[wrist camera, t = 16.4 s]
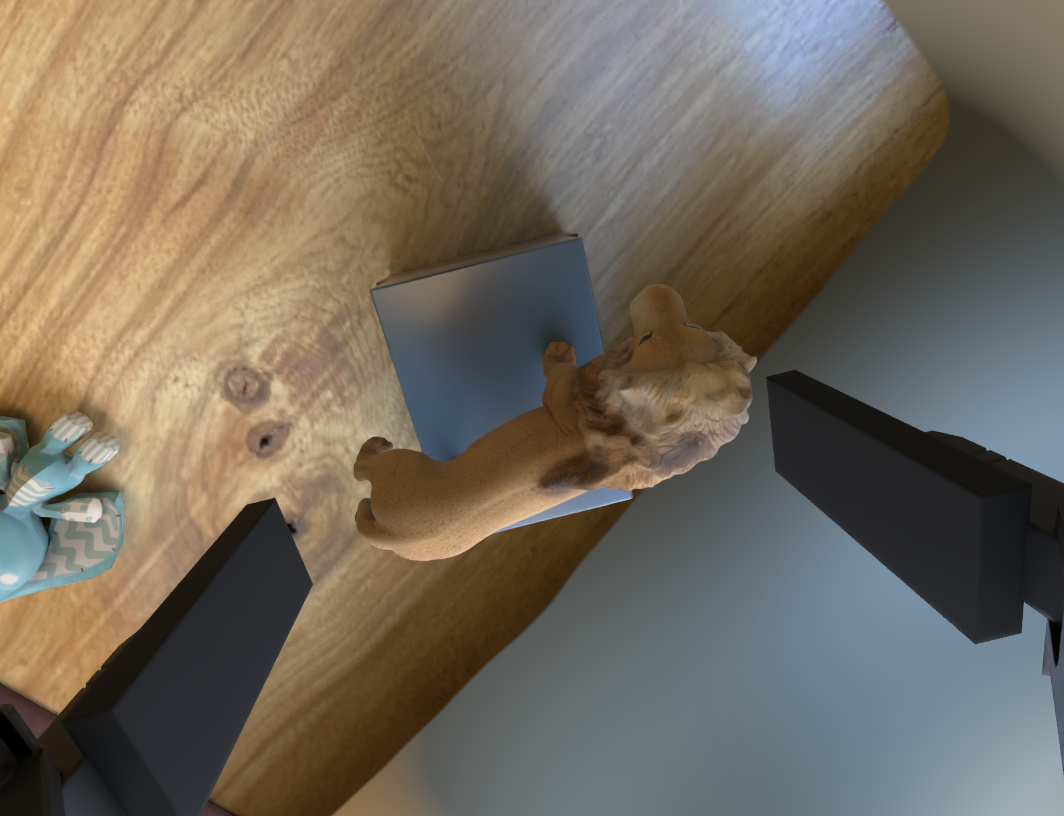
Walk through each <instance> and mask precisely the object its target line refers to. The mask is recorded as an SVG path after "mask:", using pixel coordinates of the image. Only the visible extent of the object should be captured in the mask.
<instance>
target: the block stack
mask: <svg viewBox="0 0 1064 816" xmlns="http://www.w3.org/2000/svg"><path fill="white" fill-rule="evenodd" d="M376 284H377V286H376V287H374V288H372V289H371V290H370V294H371V297H372V300H373V303H374V306H375V309H376V312H377V315H378V318H379V321H380V324H381V327H382V330H383V333H384V337H385V340H386V343H387V346H388V349H389V352H390V355H391V358H392V361H393V364H394V367H395V370H396V373H397V377H398V380H399V383H400V386H401V389H402V392H403V395H404V398H405V401H406V404H407V407H408V410H409V413H410V416H411V420H412V423H413V426H414V429H415V432H416V435H417V438H418V441H419V444H420V447H421V450H422V453H423V454H425V455H427V456H429V457H431V458H432V459H435V460H437V461H442V462H445V461H450V460H452V459H454V458H456V457H457V456H459V455H460V454H461V453H462V452H463V451H464V450H466V449H467V448H468V447H469V446H470V445H471V444H472V443H474V442H475V441H476V440H478V439H479V438H481V437H482V436H484V435H485V434H487V433H488V432H490V431H492V430H493V429H495V428H497V427H499V426H501V425H503V424H505V423H507V422H508V421H510V420H512V419H514V418H515V417H517V416H519V415H521V414H523V413H525V412H528V411H530V410H533V409H536V408H539V407H542V406H543V403H542V401H541V397H542V394H543V392H544V389H545V385H546V380H545V379H544V377H543V369H542V361H543V358H544V354H545V352H546V349H547V347H548V346H549V344H550V343H551V342H565V343H567V344H568V345H569V346H572V347H573V348H574V355H575V357H576V362H575V366H577V367H579V368H580V367H581V366H583V365H585V364H586V363H588V362H589V361H591V360H593V359H594V358H596V357H598V356H600V355H602V354H605V353H604V348H603V343H602V338H601V333H600V328H599V323H598V318H597V313H596V307H595V302H594V297H593V292H592V287H591V282H590V277H589V272H588V267H587V262H586V257H585V251H584V246H583V241H582V238H580V237H578V233H568V232H562V233H558V234H554V235H549V236H545V237H541V238H537V239H533V240H529V241H525V242H521V243H517V244H513V245H509V246H505V247H501V248H497V249H493V250H489V251H485V252H481V253H477V254H473V255H469V256H465V257H461V258H457V259H453V260H449V261H445V262H441V263H437V264H433V265H429V266H425V267H421V268H417V269H412V270H408V271H404V272H400V273H396V274H393V275H391V276H389V277H387V278H385V279H383V280H381V281H379V282H377V283H376ZM631 498H632V491H628V492H623V491H621V490H619V489H618V488H617V489H615V490H610V489H608V488H605V487H603V488H598V489H596V490H594V491H587V492H585V493H583V494H581V495H578V496H576V497H573V498H571V499H569V500H567V501H565V502H563V503H560V504H558V505H556V506H554V507H551V508H549V509H547V510H545V511H542V512H540V513H537V514H535V515H533V516H530V517H528V518H525V519H523V520H521V521H518V522H516V523H514V524H511V525H509V526H506V527H504V528H502V529H500V530H498V531H495V532H494V533H496V532H500V531H504V530H508V529H512V528H516V527H520V526H524V525H528V524H532V523H536V522H540V521H544V520H548V519H552V518H556V517H560V516H564V515H568V514H572V513H576V512H580V511H584V510H588V509H592V508H596V507H600V506H604V505H608V504H612V503H616V502H620V501H624V500H628V499H631Z"/></svg>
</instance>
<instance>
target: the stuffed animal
mask: <svg viewBox="0 0 1064 816" xmlns="http://www.w3.org/2000/svg"><path fill="white" fill-rule="evenodd" d="M93 425H94V424H93V423H92V422H91V421H90V419H89V418H88V417H87V416H86V415H84V414H82V413H80V412H77V411H65V412H64V413H62V414H61V415H60V416H59V417H58V418H57V419H56V420H55V421H54V422H53V423H52V424H51V425H50V426H49V428H48V429H47V431H46V433H45V435H44V437H43V439H42V441H41V442H40V443H39V444H37V445H35V446H33V447H32V448H31V449H29V444H28V439H27V434H26V428H25V420H22V419H17V418H13V417H7V416H0V489H1V490H3V491H4V492H5V494H0V603H2V602H4V601H6V600H8V599H11V598H15V597H19V596H22V595H26V594H30V593H34V592H38V591H42V590H46V589H50V588H53V587H57V586H61V585H65V584H70V583H74V582H78V581H83V580H87V579H90V578H92V577H94V576H96V575H98V574H100V573H102V572H104V571H106V570H108V569H110V568H111V567H112V565H113V563H114V561H115V559H116V556H117V554H118V552H119V550H120V548H121V545H122V543H123V531H124V500H123V497H122V495H121V492H120V491H116V492H104V493H77V494H76V495H74V496H73V497H71V498H70V499H68V500H65V501H62V502H57V503H50V499H51V498H53V497H56V496H60V495H62V494H64V493H65V492H67V491H69V490H71V489H73V488H74V487H76V486H77V485H78V484H80V483H81V482H82V480H83V479H84V478H85V475H86V474H87V473H89V472H91V471H94V470H96V469H98V468H100V467H102V466H103V465H104V464H105V463H107V462H108V461H109V460H110V459H111V458H112V457H113V456H114V455H115V454H116V453H117V452H118V451H119V449H120V444H119V443H118V442H117V440H116V439H115V438H114V437H113V436H111V435H109V434H107V433H105V432H94V433H93V434H92V435H91V436H90V437H89V438H88V439H87V440H86V441H85V442H84V443H83V444H82V445H81V446H80V448H79V449H78V450H77V451H76V452H75V454H74V456H73V455H72V454H69V453H67V452H65V451H63V450H64V449H66V448H67V447H69V446H71V445H72V444H74V443H75V442H77V441H78V440H80V439H81V438H83V437H84V436H85V435H86V434H87V433H88V432H89V431H90V430H91V429H92V427H93ZM38 515H39V516H42V517H52V519H51V522H50V526H49V530H48V532H47V530H46V528H45V526H44V524H43V522H42V519H41V518H40V517H39V516H38Z"/></svg>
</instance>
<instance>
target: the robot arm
mask: <svg viewBox="0 0 1064 816" xmlns="http://www.w3.org/2000/svg"><path fill="white" fill-rule="evenodd" d="M766 378H767V389H768V398H769V409H770V420H771V430H772V439H773V450H774V460H775V471H776V472H777V473H779V474H780V475H781V476H782V477H783V478H784V479H785V480H787V481H788V482H789V483H790V484H791V485H792V486H794V487H795V488H796V489H798V491H799V492H800V493H802V494H803V495H804V496H805V497H806V498H807V499H809V500H810V501H811V502H812V503H813V504H814V505H815V506H817V507H818V508H819V509H820V510H821V511H822V512H824V513H825V514H826V515H827V516H828V517H829V518H831V519H832V520H833V521H834V522H835V523H836V524H837V525H839V526H840V527H841V528H842V529H843V530H844V531H846V532H847V533H848V534H849V535H850V536H851V537H852V538H853V539H855V540H856V541H857V542H858V543H859V544H860V545H862V546H863V547H864V548H865V549H866V550H867V551H868V552H870V553H871V554H872V555H873V556H874V557H875V558H877V559H878V560H879V561H880V562H881V563H882V564H883V565H885V566H886V567H887V568H888V569H889V570H890V571H891V572H893V573H894V574H895V575H896V576H897V577H898V578H900V579H901V580H902V581H903V582H904V583H906V585H908V586H909V587H910V588H911V589H912V590H914V591H915V592H916V593H917V594H918V595H919V596H920V597H922V598H923V599H924V600H925V601H926V602H927V603H928V604H930V605H931V606H932V607H933V608H934V609H935V610H936V611H938V612H939V613H940V614H941V615H942V616H943V617H944V618H946V619H947V620H948V621H949V622H950V623H952V624H953V625H954V626H955V627H956V628H957V629H958V630H959V631H961V632H962V633H963V634H964V635H965V636H966V637H968V638H969V639H970V640H971V641H972V642H973V643H974V644H978V643H982V642H987V641H991V640H995V639H999V638H1003V637H1007V636H1011V635H1015V634H1019V633H1021V631H1022V618H1023V605H1024V602H1025V603H1027V604H1028V605H1030V606H1031V607H1032V608H1034V609H1035V610H1037V611H1038V612H1039V613H1041V614H1042V615H1044V616H1045V617H1046V618H1047V624H1046V635H1045V646H1044V657H1043V667H1042V674H1044V675H1048V676H1051V683H1052V690H1053V697H1054V705H1055V713H1056V721H1057V728H1058V735H1059V743H1060V750H1061V757H1062V766H1063V773H1064V483H1062V482H1059V481H1057V480H1055V479H1053V478H1051V477H1048V476H1046V475H1044V474H1042V473H1040V472H1037V471H1035V470H1033V469H1031V468H1028V467H1026V466H1024V465H1022V464H1019V463H1018V462H1015V461H1013V460H1011V459H1009V460H1006V458H1005V457H1004V456H1002V455H1000V454H998V453H996V452H993V451H991V450H989V451H987V450H986V448H985V447H982V446H980V445H978V444H976V443H974V442H971V441H969V440H967V439H965V438H963V437H959V436H954V435H949V434H945V433H941V432H936V431H929V432H923V431H921V430H919V429H917V428H915V427H912V426H911V425H909V424H906V423H904V422H902V421H900V420H898V419H896V418H894V417H892V416H890V415H888V414H886V413H884V412H881V411H879V410H877V409H875V408H873V407H871V406H869V405H867V404H865V403H863V402H861V401H859V400H857V399H855V398H853V397H850V396H848V395H846V394H844V393H842V392H840V391H838V390H836V389H834V388H832V387H830V386H828V385H826V384H823V383H821V382H819V381H817V380H815V379H813V378H811V377H809V376H807V375H805V374H803V373H801V372H799V371H797V370H792V371H788V372H784V373H780V374H776V375H773V376H768V377H766ZM312 585H313V583H312V581H311V579H310V576H309V574H308V572H307V570H306V567H305V565H304V563H303V560H302V558H301V556H300V554H299V551H298V549H297V547H296V544H295V542H294V540H293V538H292V535H291V533H290V531H289V528H288V526H287V524H286V521H285V519H284V517H283V515H282V512H281V510H280V508H279V505H278V503H277V501H276V499H275V498H272V499H268V500H264V501H260V502H256V503H252V504H248V505H246V506H245V507H244V508H243V510H242V511H241V512H240V513H239V514H238V515H237V517H236V518H235V519H234V520H233V521H232V522H231V524H230V525H229V526H228V527H227V528H226V529H225V531H224V532H223V533H222V534H221V535H220V536H219V538H218V539H217V540H216V541H215V542H214V543H213V545H212V546H211V547H210V548H209V549H208V550H207V552H206V553H205V554H204V555H203V556H202V557H201V558H200V560H199V561H198V562H197V563H196V564H195V565H194V567H193V568H192V569H191V570H190V571H189V572H188V574H187V575H186V576H185V577H184V578H183V579H182V581H181V582H180V583H179V584H178V585H177V586H176V588H175V589H174V590H173V591H172V592H171V593H170V595H169V596H168V597H167V598H166V599H165V600H164V602H163V603H162V604H161V605H160V606H159V607H158V609H157V610H156V611H155V612H154V613H153V614H152V616H151V617H150V618H149V619H148V620H147V621H146V623H145V624H144V625H143V626H142V627H141V628H140V629H139V630H138V631H137V632H136V633H134V634H133V635H132V636H131V637H129V638H128V639H127V640H126V641H124V642H123V643H122V644H121V645H119V647H118V648H117V649H116V650H115V651H114V652H113V653H112V655H111V656H110V657H109V658H108V659H107V660H106V661H105V663H104V664H103V665H102V666H101V670H98V671H97V672H96V673H95V674H94V675H93V676H92V677H91V679H90V680H89V681H88V682H87V683H86V688H82V689H81V690H80V691H79V692H78V693H77V695H76V696H75V697H74V698H73V699H72V700H71V701H70V703H69V704H68V705H67V706H66V707H65V708H64V709H63V711H62V712H61V713H60V714H59V715H58V716H57V718H56V719H55V720H54V721H53V722H52V723H51V724H50V726H49V727H48V728H47V729H46V730H45V731H44V732H43V734H42V735H41V736H40V737H39V738H38V739H37V738H36V737H35V735H34V734H33V733H32V731H31V730H30V728H29V727H28V726H27V724H26V723H25V721H24V720H23V719H22V717H21V716H20V714H19V713H18V712H17V710H16V709H15V708H14V706H13V705H12V704H0V816H200V815H201V813H202V811H203V809H204V807H205V805H206V803H207V801H208V799H209V796H210V794H211V792H212V790H213V788H214V786H215V784H216V782H217V780H218V778H219V776H220V774H221V772H222V770H223V768H224V766H225V764H226V762H227V760H228V757H229V755H230V753H231V751H232V749H233V747H234V745H235V743H236V741H237V739H238V737H239V735H240V733H241V731H242V729H243V727H244V725H245V723H246V720H247V718H248V716H249V714H250V712H251V710H252V708H253V706H254V704H255V702H256V700H257V698H258V696H259V694H260V692H261V690H262V688H263V686H264V684H265V681H266V679H267V677H268V675H269V673H270V671H271V669H272V667H273V665H274V663H275V661H276V659H277V657H278V655H279V653H280V651H281V649H282V647H283V644H284V642H285V640H286V638H287V636H288V634H289V632H290V630H291V628H292V626H293V624H294V622H295V620H296V618H297V616H298V614H299V612H300V610H301V608H302V605H303V603H304V601H305V599H306V597H307V595H308V593H309V591H310V589H311V587H312Z"/></svg>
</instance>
